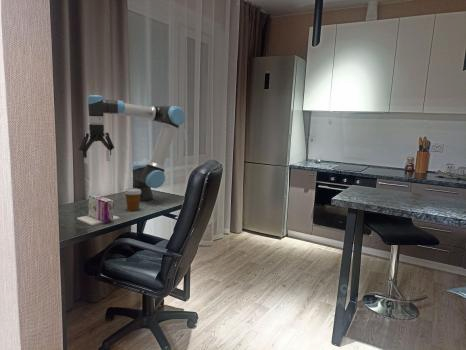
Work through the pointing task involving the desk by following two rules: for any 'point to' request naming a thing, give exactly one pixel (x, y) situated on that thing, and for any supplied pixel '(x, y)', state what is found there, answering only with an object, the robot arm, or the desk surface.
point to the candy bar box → (101, 208)
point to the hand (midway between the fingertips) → (97, 162)
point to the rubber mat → (93, 220)
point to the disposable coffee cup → (133, 198)
